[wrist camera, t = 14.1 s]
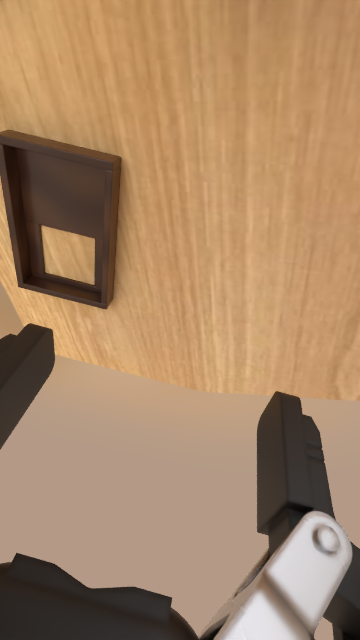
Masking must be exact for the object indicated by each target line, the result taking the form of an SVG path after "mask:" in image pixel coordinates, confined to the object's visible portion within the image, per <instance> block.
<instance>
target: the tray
mask: <svg viewBox="0 0 360 640" xmlns="http://www.w3.org/2000/svg"><path fill="white" fill-rule="evenodd" d="M120 165H121V157H119V156H115V155H111V154H107V153H102V152H98V151H94V150H90V149H86V148H82V147H78V146H73V145H69V144H65V143H61V142H57V141H53V140H49V139H44V138H40V137H36V136H32V135H28V134H24V133H20V132H15V131H11V130H6V131H3V132H0V176H1V183H2V189H3V195H4V201H5V207H6V213H7V220H8V226H9V232H10V238H11V244H12V250H13V256H14V263H15V269H16V275H17V281H18V287H21V288H24V289H28V290H32V291H36V292H40V293H44V294H48V295H52V296H56V297H59V298H63V299H67V300H71V301H75V302H79V303H83V304H87V305H91V306H94V307H98V308H102V309H107V308H108V306H109V305H110V303H111V301H112V300H113V290H114V272H115V255H116V238H117V221H118V203H119V186H120V169H121V166H120ZM40 225H44V226H48V227H52V228H56V229H60V230H64V231H68V232H72V233H76V234H80V235H84V236H88V237H92V238H95V285H91V284H87V283H83V282H79V281H75V280H71V279H67V278H63V277H59V276H56V275H52V274H48V273H45V268H44V258H43V248H42V238H41V227H40Z"/></svg>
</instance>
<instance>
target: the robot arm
mask: <svg viewBox="0 0 360 640" xmlns="http://www.w3.org/2000/svg"><path fill="white" fill-rule="evenodd" d="M54 362H55V352H54V339H53V331H52V329H49V328H46V327H42V326H38V325H35V324H31V323H30V324H28V325H26V326H25V327H24V328H23V330H22V331H21V332H20V333H19V334H18V335H17V336H16V335H13V334H9V335H7V336H5V337H3V338H2V339H0V449H1V448H2V446H3V444H4V443H5V442H6V440H7V439H8V437H9V436H10V434H11V433H12V431H13V430H14V428H15V427H16V425H17V424H18V422H19V421H20V419H21V418H22V416H23V415H24V413H25V412H26V410H27V409H28V407H29V406H30V404H31V403H32V401H33V400H34V398H35V396H36V395H37V394H38V392H39V390H40V389H41V388H42V386H43V384H44V383H45V381H46V380H47V378H48V377H49V375H50V373H51V372H52V369H53V366H54ZM257 532H258V533H262V534H265V535H269V548H268V549H267V550H266V551H265V553H264V554H263V555H262V556H261V558H260V559H259V560H258V562H257V563H256V564H255V566H254V567H253V568H252V570H251V571H250V572H249V573H248V575H247V576H246V577H245V579H244V580H243V582H242V583H241V584H240V585H239V587H238V588H237V589H236V590H235V592H234V593H233V595H232V596H231V597H230V598H229V599H228V601H227V602H226V603H225V604H224V605H223V606H222V607H221V608H220V610H219V611H218V612H217V613H216V614H215V616H214V617H213V618H212V619H211V620H210V622H209V623H208V624H207V626H206V627H205V628H204V630H203V631H202V632H201V633H200V635H199V636H197V635H196V633H195V632H194V630H193V629H192V627H191V626H190V625H189V624H188V622H187V621H186V620H185V619H184V618H183V617H182V616H181V615H180V614H179V613H178V612H177V611H175V610H174V609H172V608H171V602H172V598H171V597H168V596H165V595H161V594H158V593H154V592H151V591H147V590H144V589H140V588H137V587H118V588H117V587H116V588H96V589H92V588H88V587H86V586H85V585H83V584H82V583H81V582H79V581H78V580H76V579H75V578H73V577H72V576H71V575H69V574H68V573H67V572H65V571H64V570H62V569H61V568H60V567H58V566H57V565H55V564H53V563H50V562H46V561H43V560H40V559H36V558H33V557H29V556H26V555H22V554H19V553H16V555H15V557H14V559H13V561H12V562H7V563H2V564H0V640H315V639H314V632H315V630H316V628H317V626H318V624H319V621H320V620H321V618H322V616H323V617H324V618H325V619H327V620H328V621H330V622H331V623H332V626H333V636H334V640H360V549H359V548H358V547H356V546H355V545H354V544H353V543H352V542H351V541H350V540H349V538H348V536H347V534H346V532H345V530H344V529H343V528H342V526H341V525H340V524H339V523H338V522H337V521H336V519H335V516H334V512H333V507H332V502H331V496H330V490H329V484H328V478H327V473H326V467H325V463H324V455H323V450H322V444H321V438H320V432H319V430H318V428H317V426H316V425H315V423H314V421H313V419H312V418H311V417H310V416H306V415H303V414H302V408H301V401H300V398H299V397H296V396H293V395H289V394H285V393H282V392H278V391H277V392H275V393H274V395H273V397H272V398H271V400H270V402H269V403H268V405H267V407H266V408H265V410H264V412H263V413H262V415H261V417H260V420H259V423H258V428H257Z"/></svg>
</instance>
